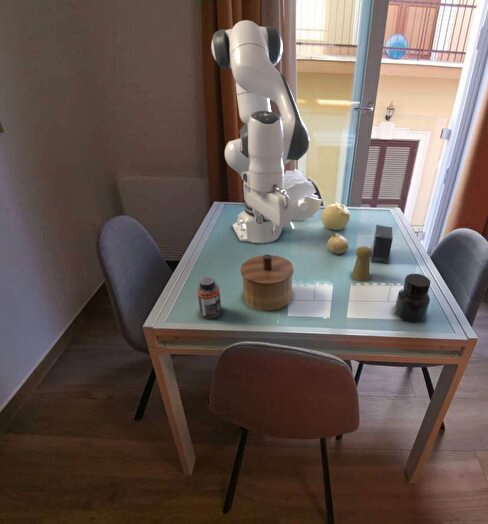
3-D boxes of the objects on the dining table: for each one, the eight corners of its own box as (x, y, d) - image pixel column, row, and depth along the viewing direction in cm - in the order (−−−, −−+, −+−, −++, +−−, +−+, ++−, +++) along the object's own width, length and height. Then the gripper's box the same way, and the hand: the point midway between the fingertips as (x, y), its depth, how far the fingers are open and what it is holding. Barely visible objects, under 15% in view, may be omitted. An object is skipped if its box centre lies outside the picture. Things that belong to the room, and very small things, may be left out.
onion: (347, 247, 140) (349, 231, 137) (347, 257, 133) (349, 240, 130) (327, 245, 141) (329, 229, 138) (325, 255, 134) (327, 238, 131)
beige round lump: (351, 232, 152) (354, 208, 147) (324, 233, 151) (326, 209, 145) (344, 221, 162) (347, 198, 157) (318, 222, 160) (320, 199, 155)
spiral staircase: (293, 231, 160) (281, 208, 180) (328, 213, 160) (313, 192, 180) (276, 198, 149) (266, 177, 169) (314, 179, 149) (299, 160, 169)
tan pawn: (358, 282, 119) (362, 254, 113) (348, 273, 124) (351, 245, 118) (372, 278, 122) (377, 250, 116) (362, 270, 126) (366, 242, 121)
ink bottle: (418, 303, 110) (427, 270, 104) (431, 322, 103) (441, 287, 97) (388, 305, 109) (395, 272, 103) (399, 324, 101) (407, 289, 95)
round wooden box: (236, 291, 112) (234, 265, 107) (276, 278, 119) (276, 253, 115) (257, 316, 102) (256, 289, 97) (300, 301, 109) (301, 274, 104)
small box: (388, 264, 130) (393, 238, 125) (370, 261, 131) (374, 236, 126) (388, 250, 139) (393, 226, 134) (371, 248, 140) (375, 224, 135)
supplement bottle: (202, 306, 105) (197, 274, 99) (222, 306, 105) (219, 273, 100) (198, 319, 100) (194, 286, 94) (220, 319, 100) (217, 286, 94)
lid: (231, 266, 108) (230, 251, 105) (277, 254, 116) (277, 239, 113) (255, 292, 97) (255, 276, 94) (304, 277, 104) (305, 261, 102)
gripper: (298, 190, 86) (296, 241, 93) (259, 169, 101) (260, 214, 108) (276, 194, 83) (275, 246, 90) (238, 171, 98) (241, 218, 104)
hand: (267, 229), depth 99 cm, fingers open, 8 cm apart
